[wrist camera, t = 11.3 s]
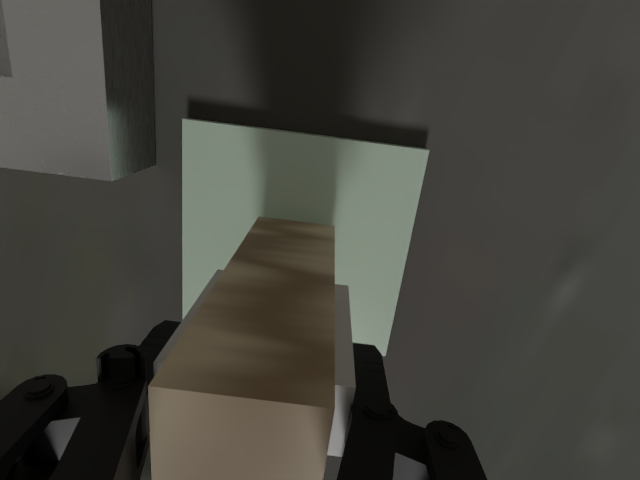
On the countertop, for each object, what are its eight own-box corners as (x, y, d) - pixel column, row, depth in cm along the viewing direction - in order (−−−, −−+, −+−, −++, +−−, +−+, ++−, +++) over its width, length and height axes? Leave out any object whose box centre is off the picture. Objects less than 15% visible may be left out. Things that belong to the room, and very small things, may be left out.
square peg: (253, 284, 24) (153, 516, 11) (258, 216, 22) (147, 386, 9) (325, 293, 24) (313, 534, 11) (334, 225, 22) (334, 408, 9)
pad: (187, 323, 27) (182, 331, 26) (188, 118, 23) (182, 118, 22) (383, 347, 28) (385, 356, 27) (425, 148, 23) (429, 150, 22)
